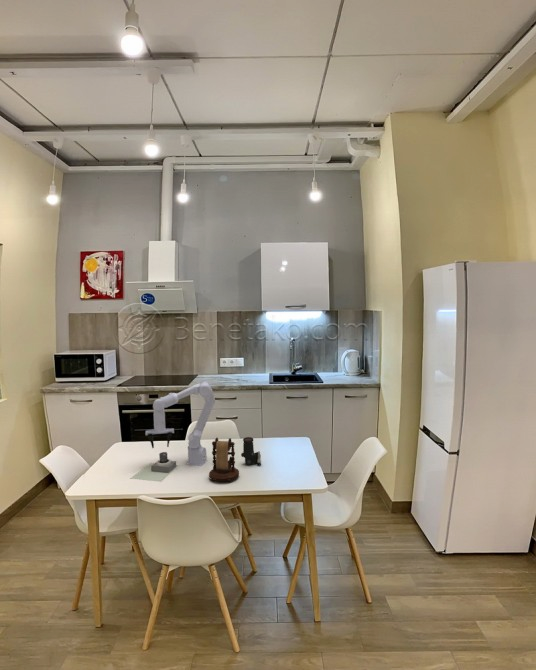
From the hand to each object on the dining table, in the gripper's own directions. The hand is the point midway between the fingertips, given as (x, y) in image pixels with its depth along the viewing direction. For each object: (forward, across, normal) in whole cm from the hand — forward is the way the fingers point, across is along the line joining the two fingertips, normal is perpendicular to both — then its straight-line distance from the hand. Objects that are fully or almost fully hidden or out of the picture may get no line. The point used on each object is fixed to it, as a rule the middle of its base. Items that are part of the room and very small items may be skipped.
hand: (160, 447), depth 220 cm
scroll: (+11, -31, +23) cm, 40 cm away
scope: (+10, -47, +10) cm, 49 cm away
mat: (+10, +2, +8) cm, 14 cm away
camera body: (+10, -2, +6) cm, 12 cm away
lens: (+7, -2, +6) cm, 9 cm away
